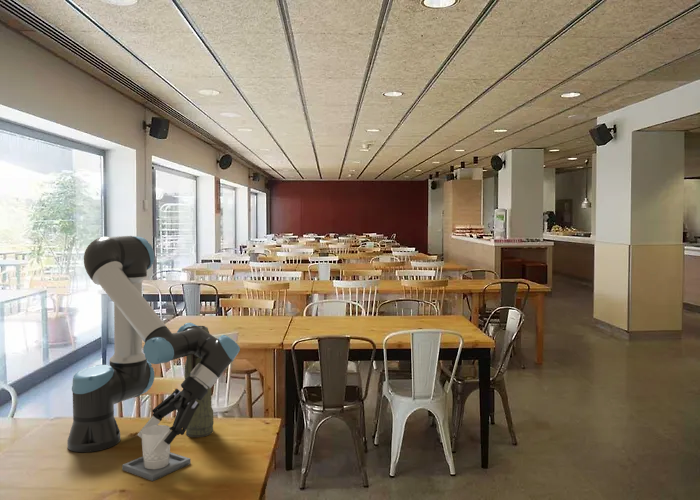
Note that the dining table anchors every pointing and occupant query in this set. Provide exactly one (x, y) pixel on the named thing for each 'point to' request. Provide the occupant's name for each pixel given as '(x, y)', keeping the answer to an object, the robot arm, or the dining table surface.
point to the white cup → (150, 441)
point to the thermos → (204, 413)
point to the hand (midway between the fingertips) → (148, 444)
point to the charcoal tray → (150, 474)
